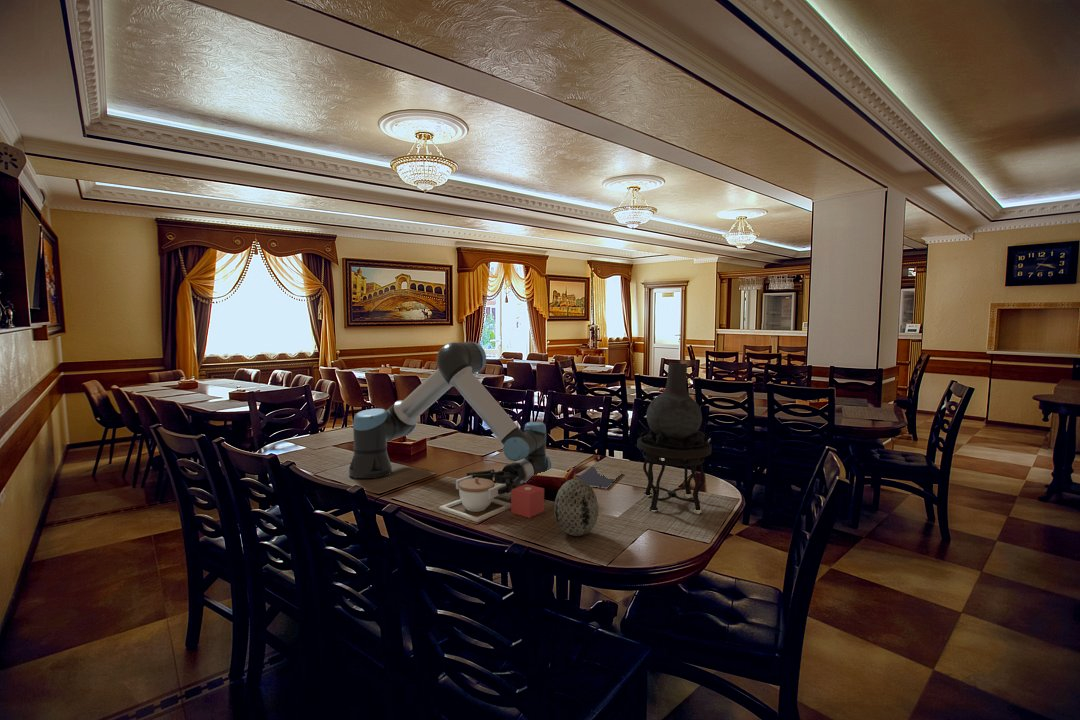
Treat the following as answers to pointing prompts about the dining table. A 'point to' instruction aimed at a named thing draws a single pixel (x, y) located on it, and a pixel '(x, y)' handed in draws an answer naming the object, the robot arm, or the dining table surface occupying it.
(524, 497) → the die
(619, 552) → the dining table surface
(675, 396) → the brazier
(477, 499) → the lidded jar
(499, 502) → the white rectangular frame
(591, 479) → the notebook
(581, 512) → the decorative egg
